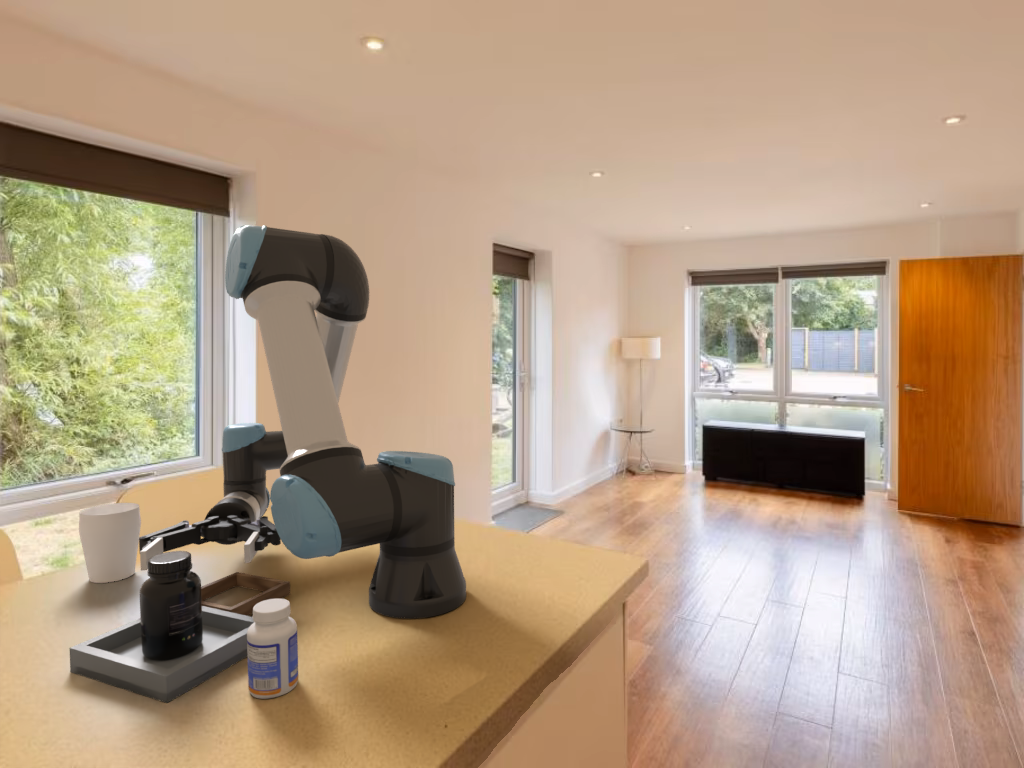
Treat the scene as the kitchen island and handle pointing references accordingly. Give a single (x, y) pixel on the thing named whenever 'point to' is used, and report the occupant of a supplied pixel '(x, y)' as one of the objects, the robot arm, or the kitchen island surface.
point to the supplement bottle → (170, 607)
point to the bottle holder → (268, 585)
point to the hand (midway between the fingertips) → (195, 557)
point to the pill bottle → (272, 650)
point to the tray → (165, 680)
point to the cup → (110, 540)
